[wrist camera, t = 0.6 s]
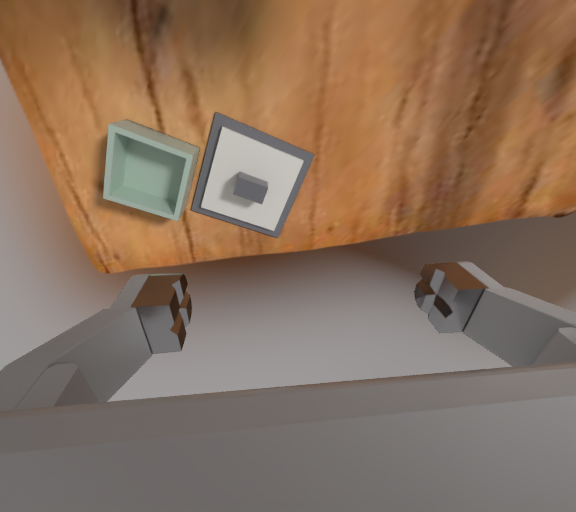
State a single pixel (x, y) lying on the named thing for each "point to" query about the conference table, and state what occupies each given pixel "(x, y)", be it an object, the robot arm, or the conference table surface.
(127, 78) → the conference table surface
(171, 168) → the pale green open box
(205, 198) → the lid
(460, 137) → the conference table surface
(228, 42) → the conference table surface
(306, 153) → the mat
